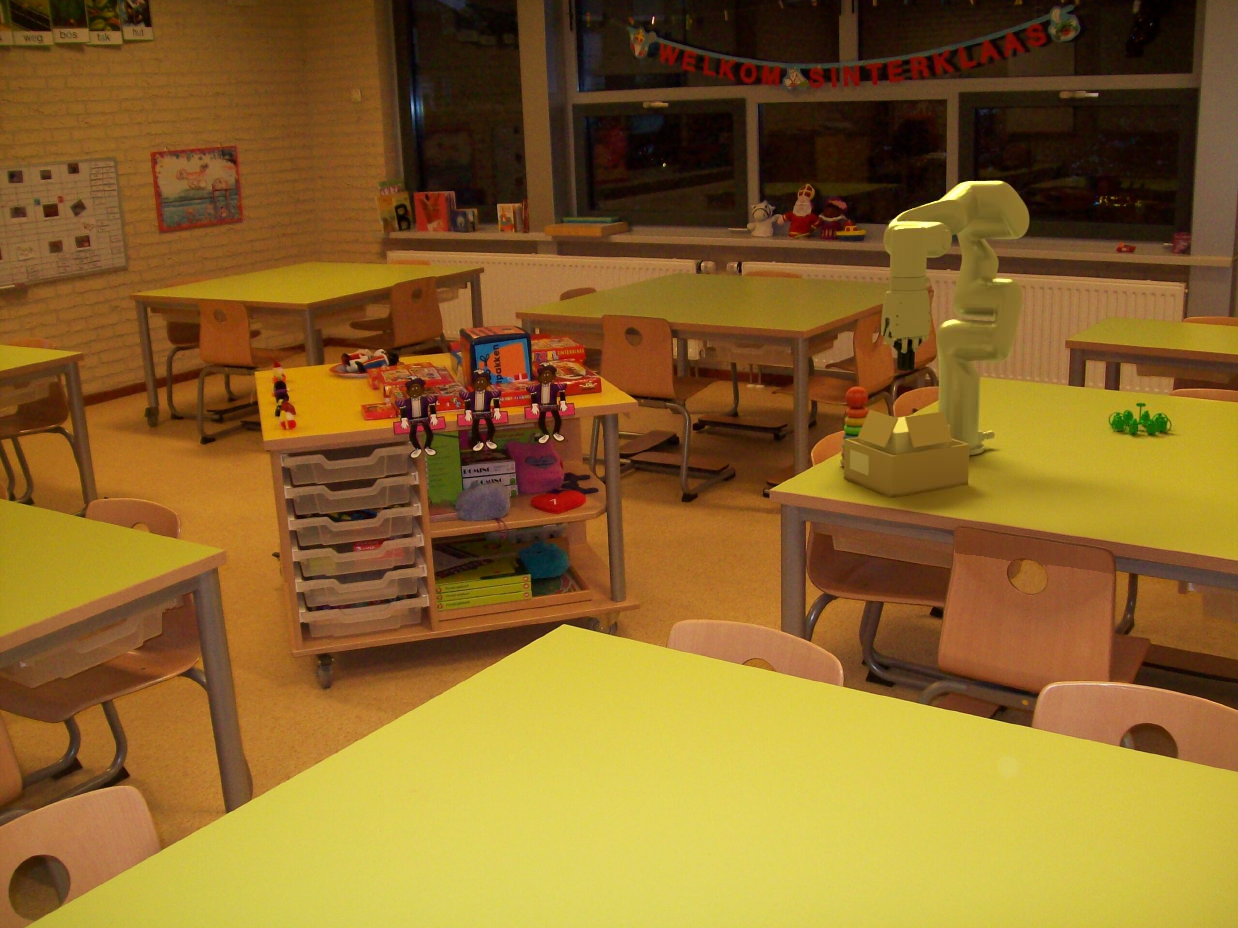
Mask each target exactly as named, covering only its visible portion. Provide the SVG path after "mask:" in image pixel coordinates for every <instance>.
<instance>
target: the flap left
mask: <svg viewBox="0 0 1238 928" xmlns="http://www.w3.org/2000/svg"><path fill="white" fill-rule="evenodd" d="M915 415H916V416H913V415H908V416H909V417H906V416H904V417H905V420H906V424H907V427H908V431H909V435H910V438H911V442H912V445H913V448H916V447H922V446H928V445H935V444H941V443H947V442H952V438H951V434H950V431H949V427H948V424H947V420H946V417H945V413H944V411H943V412H938V411H937V412H932V413H930V412H929V413H924V414H915Z"/></svg>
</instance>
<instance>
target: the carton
mask: <svg viewBox="0 0 1238 928" xmlns="http://www.w3.org/2000/svg"><path fill="white" fill-rule="evenodd" d="M916 415H917V414H915V415H912V416H916ZM909 416H910V415H908V416H900V417H897V418H898V421H897V423H896V426H895V428H894V430H893V432H892V435H891V437H890V439H889V441H888V444H887V446H886V448H884V447H881V446H878V445H876V444H873V443H870V442H867V441H864V440H861V439H858V437H856V438H849V439H843V442H844V449H843V450H844V467H843V479H845V480H848V481H850V482H852V483H855V484H858V485H860V486H863V487H865V488H867V487H868V489H869V488H871V489H870V490H872V489H873V491H874V490H876V491H875V492H877V491H878V492H877V493H879V492H880V494H881V495H884V494H885V496H886V497H889V498H896V497H897V496H898V497H901V496H902V495H903V496H909V495H913V494H920V493H926V492H931V491H933V492H934V491H937V490H943V489H944V490H945V489H948V488H949V489H950V488H955V487H960V486H961V487H962V486H965V485H969V472H970V471H969V470H970V469H969V468H970V467H969V466H970V455H969V446H970V444H967V443H964V442H961V441H958V440H955V439H952V442H947V443H941V444H935V445H928V446H922V447H916V448H913V445H912V442H911V438H910V435H909V431H908V427H907V424H906V420H905V417H909ZM948 427H949V431H950V425H948ZM898 497H897V498H898Z"/></svg>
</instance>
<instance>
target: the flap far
mask: <svg viewBox="0 0 1238 928" xmlns="http://www.w3.org/2000/svg"><path fill="white" fill-rule="evenodd" d="M898 418H899V417H895V416H891V415H889V414H886V413H882V412H880V411H879V412H878V411H875V410H872V409H868V414H867V417H866V419H865V422H864V424H863V426H862V428H861V431H860V433H859V435H858V439H861V440H864V441H867V442H870V443H873V444H876V445H878V446H881V447H884V448H886V446H887V444H888V441H889V439H890V437H891V435H892V432H893V430H894V428H895V426H896V423H897V421H898Z"/></svg>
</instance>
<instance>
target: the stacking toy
mask: <svg viewBox="0 0 1238 928" xmlns="http://www.w3.org/2000/svg"><path fill="white" fill-rule="evenodd" d="M868 400H869V394H868V392H867V391H866V389H864V388H863V387H860V386H853V387H850V388H849V389H848V390H847V392H846V394H845V402H846V403H847V405H848V407H847V408H846V410H845V414H846V415H847V416H846V417H845V418H844V422H845V425H844V427H843V431H844V432H845V433H844V434H843V437H842V439H843V440H844V439H849V438H856V437H858V435H859V433H860V431H861V428H862V426H863V424H864V422H865V419H866V417H867V415H868V413H869V409H868V408H867V407H866V404H867V403H868ZM840 455H841V457H842V458H841V459H840V466H842V467H843V468H844V441H843V442H842V451H841V453H840Z"/></svg>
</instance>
